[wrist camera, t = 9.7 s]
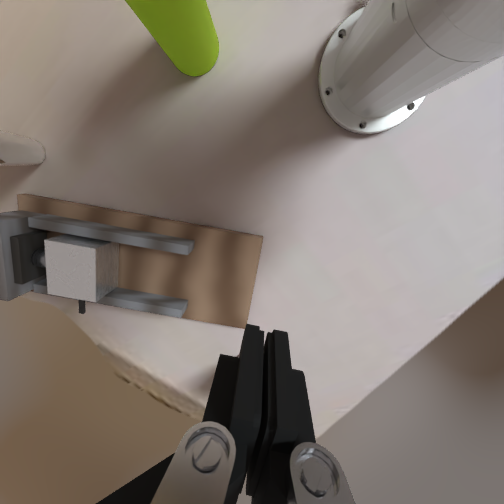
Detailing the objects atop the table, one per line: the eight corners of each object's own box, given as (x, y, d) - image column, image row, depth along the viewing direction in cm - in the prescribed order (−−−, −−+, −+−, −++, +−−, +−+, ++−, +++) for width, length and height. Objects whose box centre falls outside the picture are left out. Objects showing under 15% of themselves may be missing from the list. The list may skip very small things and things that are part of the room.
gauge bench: (263, 236, 35) (263, 251, 28) (246, 323, 39) (242, 356, 32) (27, 193, 34) (-35, 197, 27) (34, 286, 38) (-18, 310, 31)
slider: (119, 239, 34) (95, 248, 29) (117, 305, 37) (95, 324, 32) (53, 227, 34) (18, 235, 29) (56, 294, 37) (25, 311, 32)
